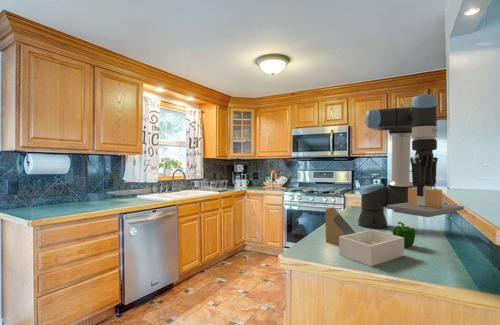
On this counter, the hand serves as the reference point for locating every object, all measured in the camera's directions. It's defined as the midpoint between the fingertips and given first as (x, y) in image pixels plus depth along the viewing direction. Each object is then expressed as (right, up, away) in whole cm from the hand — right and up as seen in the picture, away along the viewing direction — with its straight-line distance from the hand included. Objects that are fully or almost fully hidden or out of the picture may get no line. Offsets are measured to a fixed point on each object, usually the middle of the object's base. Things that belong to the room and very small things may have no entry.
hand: (424, 204), depth 96 cm
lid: (0, -3, 0) cm, 3 cm away
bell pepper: (+4, -21, +20) cm, 29 cm away
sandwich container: (-20, -21, +24) cm, 37 cm away
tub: (-15, -21, +9) cm, 27 cm away
